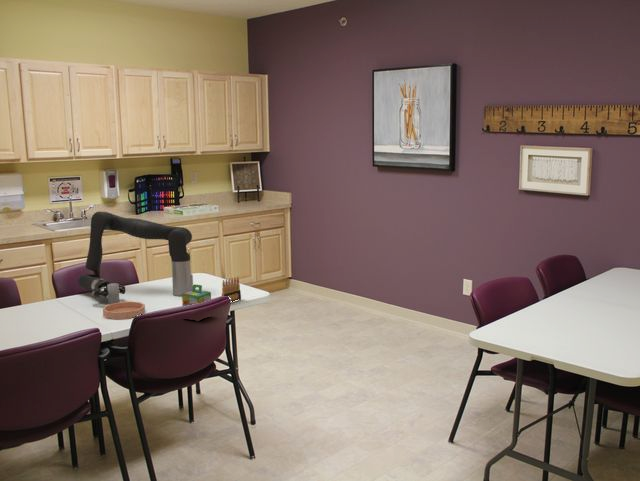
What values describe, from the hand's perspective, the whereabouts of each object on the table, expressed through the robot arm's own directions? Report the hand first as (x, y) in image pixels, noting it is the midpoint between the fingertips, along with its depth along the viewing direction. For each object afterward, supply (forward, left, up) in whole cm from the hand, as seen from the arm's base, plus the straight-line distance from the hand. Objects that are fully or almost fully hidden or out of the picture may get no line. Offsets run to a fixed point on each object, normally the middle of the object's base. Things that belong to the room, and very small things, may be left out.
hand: (115, 293), depth 291 cm
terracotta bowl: (+2, +15, -6) cm, 16 cm away
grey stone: (0, -2, -6) cm, 6 cm away
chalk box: (-19, +43, -6) cm, 48 cm away
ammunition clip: (-44, +31, -6) cm, 54 cm away
